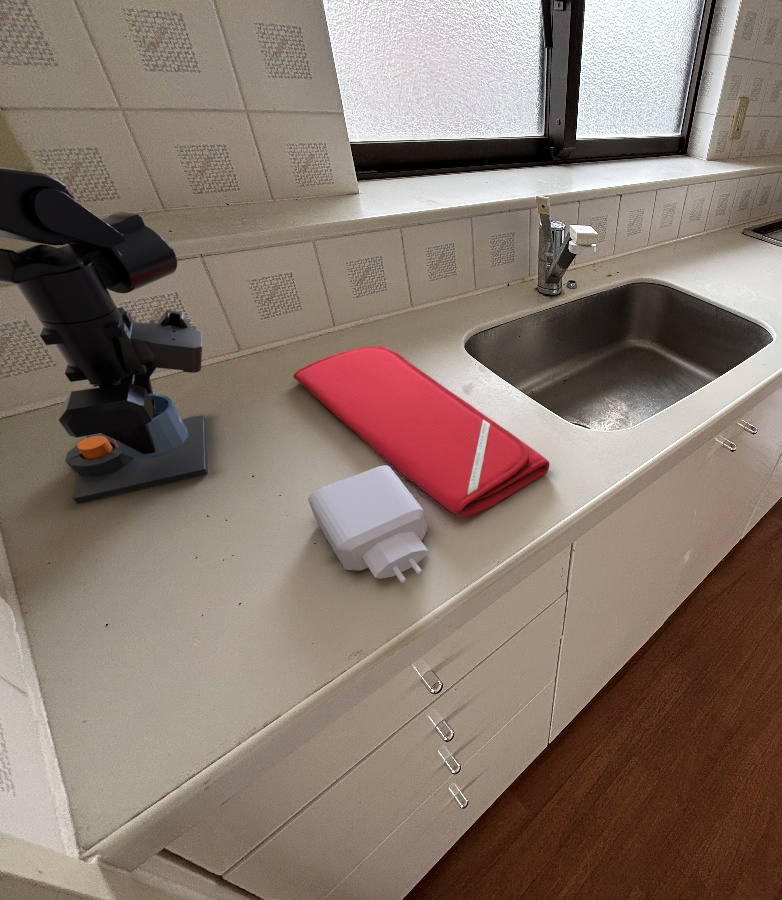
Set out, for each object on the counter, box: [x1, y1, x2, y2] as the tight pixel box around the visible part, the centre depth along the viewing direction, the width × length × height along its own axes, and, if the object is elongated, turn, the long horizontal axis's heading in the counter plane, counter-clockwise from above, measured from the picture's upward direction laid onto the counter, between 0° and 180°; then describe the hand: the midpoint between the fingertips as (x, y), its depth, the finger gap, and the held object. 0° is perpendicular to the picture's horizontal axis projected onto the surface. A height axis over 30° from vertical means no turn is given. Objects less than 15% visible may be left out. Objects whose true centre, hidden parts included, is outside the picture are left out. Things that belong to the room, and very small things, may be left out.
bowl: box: [113, 393, 188, 459], centre depth 58 cm, size 6×6×5 cm
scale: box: [64, 414, 209, 505], centre depth 61 cm, size 12×12×2 cm
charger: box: [307, 465, 429, 584], centre depth 54 cm, size 5×9×15 cm
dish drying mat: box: [293, 345, 550, 517], centre depth 71 cm, size 16×41×4 cm, turn 49°
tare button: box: [76, 435, 113, 459], centre depth 58 cm, size 3×3×2 cm
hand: (151, 435), depth 58 cm, fingers closed on bowl, 6 cm apart
